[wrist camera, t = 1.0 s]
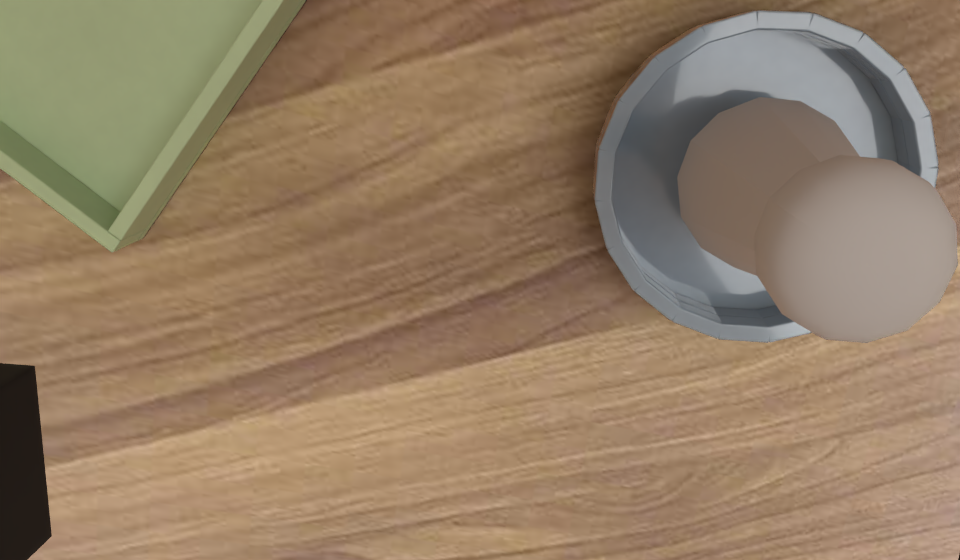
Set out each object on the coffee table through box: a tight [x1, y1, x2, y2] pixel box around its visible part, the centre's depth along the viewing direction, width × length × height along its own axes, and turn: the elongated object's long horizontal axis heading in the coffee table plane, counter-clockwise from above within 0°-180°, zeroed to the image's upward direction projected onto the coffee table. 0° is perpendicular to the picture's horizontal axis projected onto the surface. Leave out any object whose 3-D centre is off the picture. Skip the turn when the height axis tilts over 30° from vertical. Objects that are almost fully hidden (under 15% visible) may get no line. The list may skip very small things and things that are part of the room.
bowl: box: [593, 10, 939, 343], centre depth 31 cm, size 11×11×2 cm
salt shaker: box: [677, 97, 958, 343], centre depth 25 cm, size 6×6×13 cm
